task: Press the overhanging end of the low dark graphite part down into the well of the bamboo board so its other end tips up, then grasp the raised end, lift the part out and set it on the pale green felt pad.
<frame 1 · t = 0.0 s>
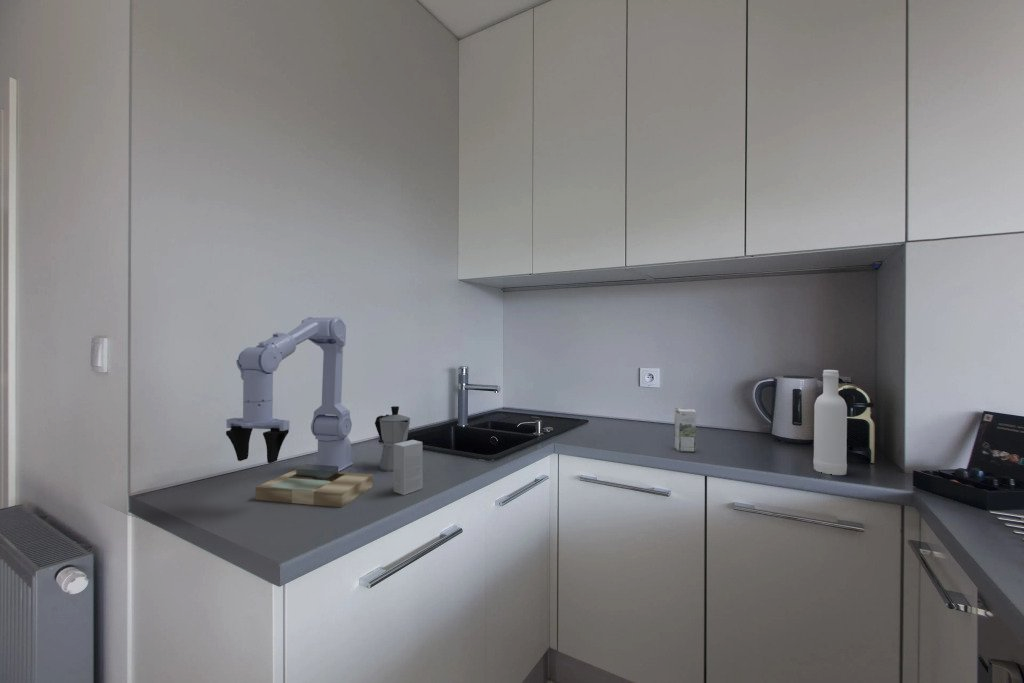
hand: (257, 460, 95), 10 cm above the counter, fingers open, 7 cm apart
coffee maker: (392, 467, 126), on the counter
skincare box: (407, 491, 106), on the counter
bottle: (829, 472, 125), on the counter
graphite part: (317, 476, 107), point 3 cm above the counter, touching bamboo board
bamboo board: (317, 492, 103), on the counter
syrup box: (684, 450, 148), on the counter
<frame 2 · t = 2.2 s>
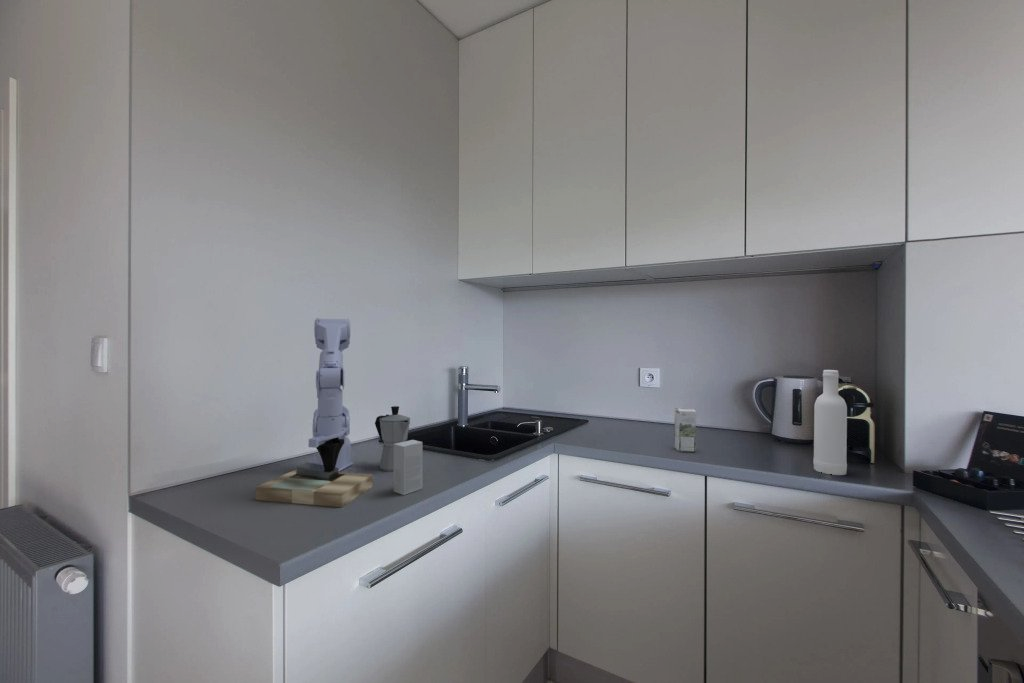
hand: (329, 469, 106), 5 cm above the counter, fingers closed, pressing on graphite part
graphite part: (317, 475, 107), point 3 cm above the counter, tilted 6°, touching bamboo board, gripper
everything else where it was.
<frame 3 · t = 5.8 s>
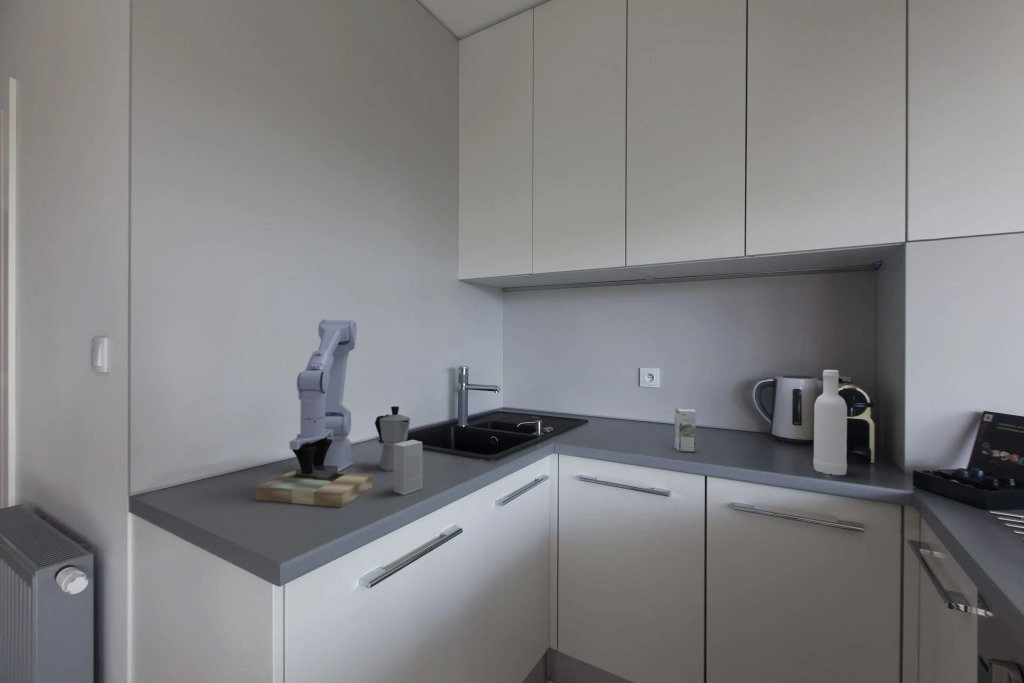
hand: (312, 471, 107), 4 cm above the counter, fingers closed on graphite part, 4 cm apart
graphite part: (316, 476, 107), point 3 cm above the counter, touching bamboo board, gripper
everything else where it was.
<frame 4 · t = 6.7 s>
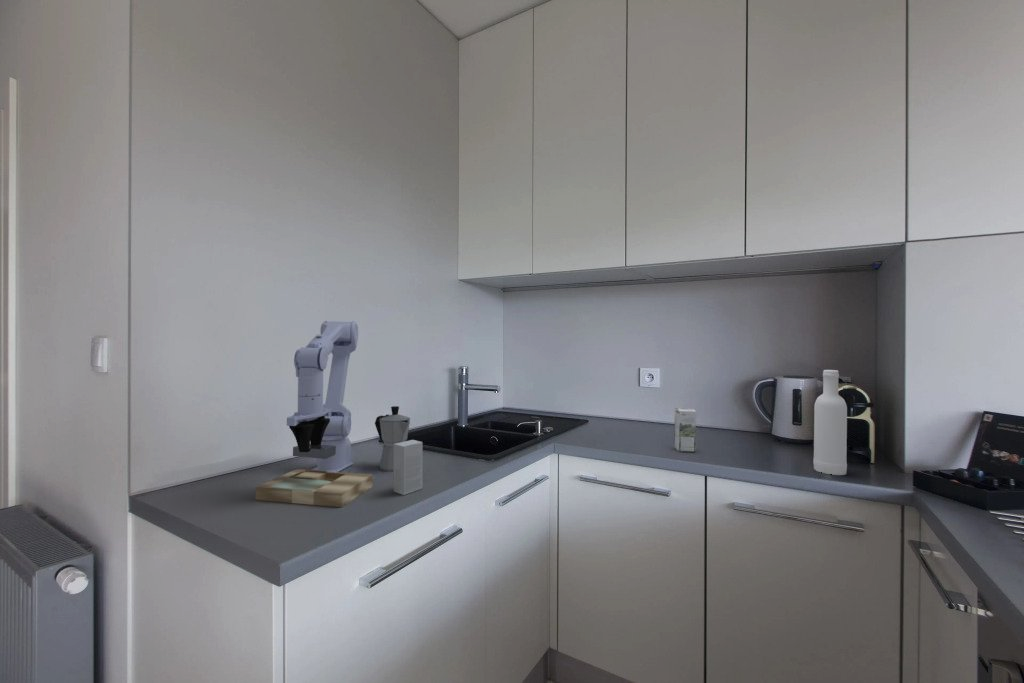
hand: (309, 449, 106), 10 cm above the counter, fingers closed on graphite part, 4 cm apart
graphite part: (314, 455, 105), point 9 cm above the counter, touching gripper
everything else where it was.
when the fingers open (8 cm above the counter, at t = 7.8 s): graphite part drops 3 cm, resting on bamboo board.
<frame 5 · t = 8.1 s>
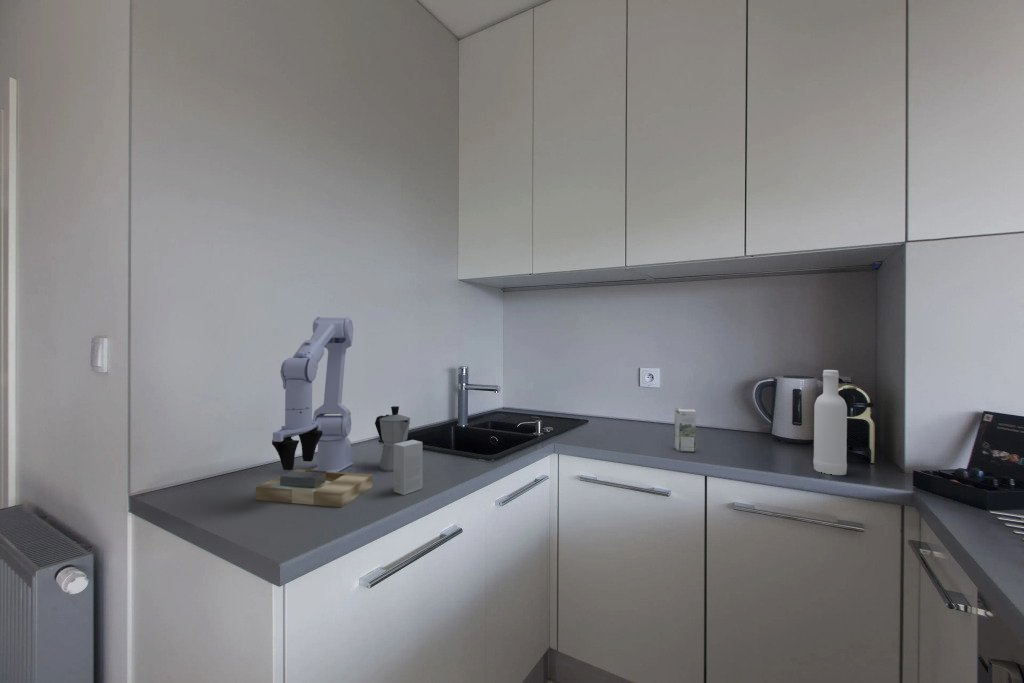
hand: (298, 465, 100), 8 cm above the counter, fingers open, 6 cm apart
graphite part: (303, 483, 100), point 3 cm above the counter, touching bamboo board
everything else where it was.
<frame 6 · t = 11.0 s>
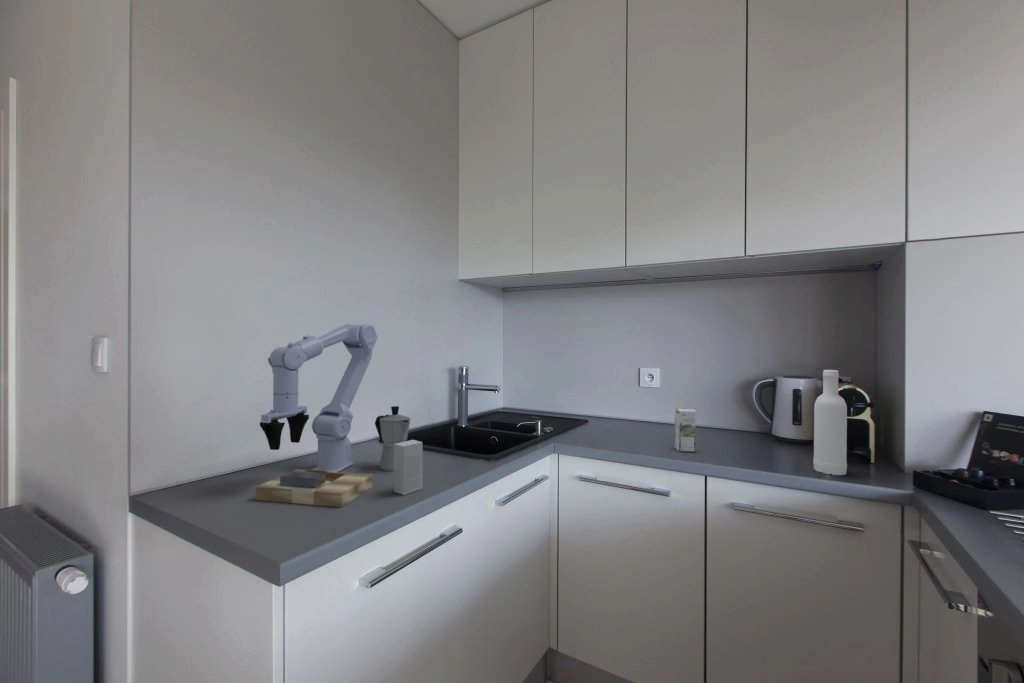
hand: (285, 445, 110), 10 cm above the counter, fingers open, 7 cm apart
nothing on the counter moved.
at the end: graphite part inside the target area on the bamboo board (0.7 cm from its centre), point 3.2 cm above the bamboo board's base; the gripper is holding nothing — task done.
